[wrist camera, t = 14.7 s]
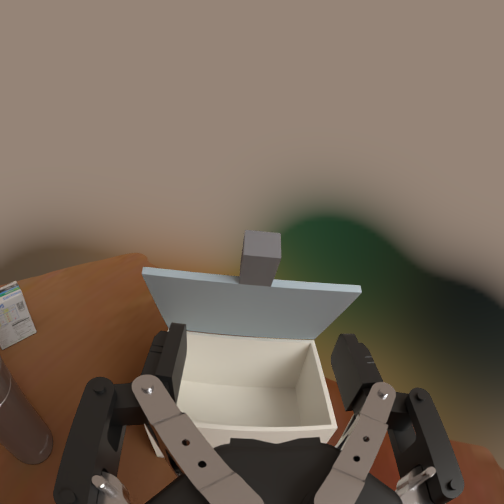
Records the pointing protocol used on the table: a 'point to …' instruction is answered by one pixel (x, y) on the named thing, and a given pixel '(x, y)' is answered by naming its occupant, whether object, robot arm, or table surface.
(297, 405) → the carton
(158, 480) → the table surface
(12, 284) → the light bulb box
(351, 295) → the lid
